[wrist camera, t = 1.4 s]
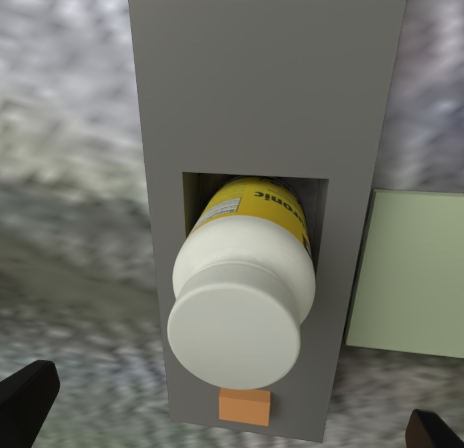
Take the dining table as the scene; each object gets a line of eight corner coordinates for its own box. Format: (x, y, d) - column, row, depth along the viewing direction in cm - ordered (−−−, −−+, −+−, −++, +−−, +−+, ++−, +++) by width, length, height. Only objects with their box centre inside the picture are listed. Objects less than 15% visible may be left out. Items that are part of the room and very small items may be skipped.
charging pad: (592, 199, 15) (603, 204, 15) (515, 356, 20) (522, 364, 19) (373, 189, 17) (376, 192, 16) (344, 338, 21) (345, 344, 20)
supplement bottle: (322, 232, 18) (360, 377, 9) (242, 272, 20) (210, 426, 11) (271, 150, 17) (259, 228, 8) (190, 202, 19) (105, 313, 10)
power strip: (147, -106, 13) (100, -171, 10) (405, -123, 12) (454, -205, 9) (182, 382, 25) (166, 432, 21) (317, 400, 23) (323, 456, 20)
